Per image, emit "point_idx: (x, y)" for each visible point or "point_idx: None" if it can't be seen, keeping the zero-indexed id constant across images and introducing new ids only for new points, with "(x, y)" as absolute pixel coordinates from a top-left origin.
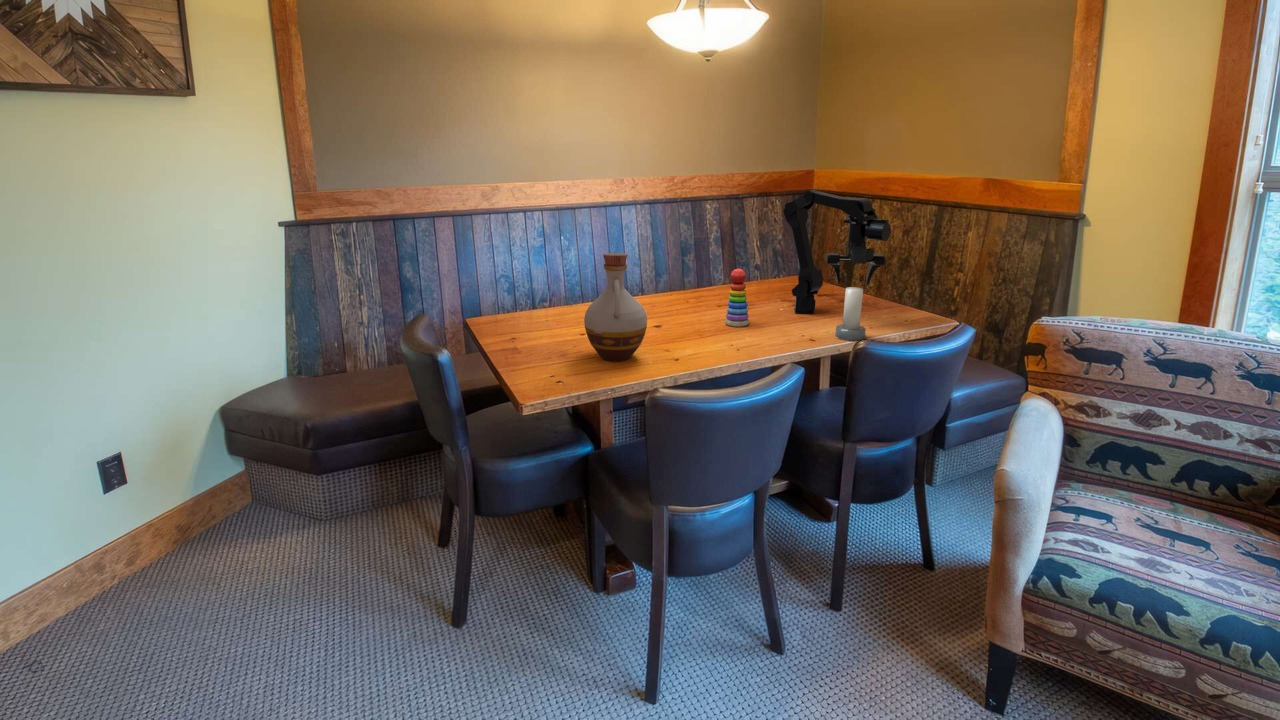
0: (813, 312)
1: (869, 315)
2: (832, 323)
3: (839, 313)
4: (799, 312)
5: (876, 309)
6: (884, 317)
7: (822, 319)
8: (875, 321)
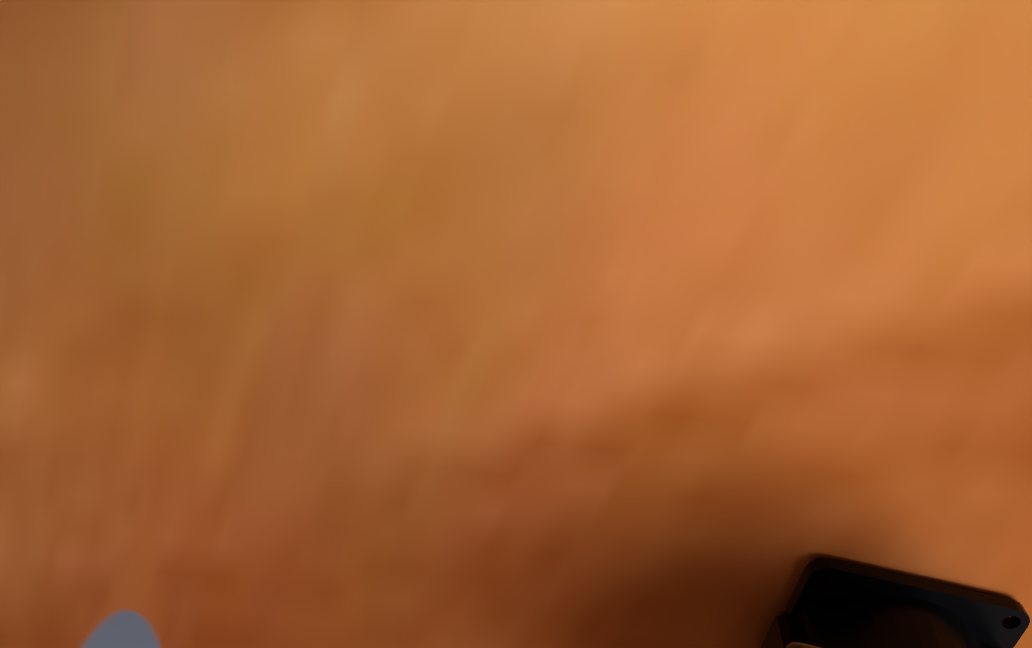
0: (814, 576)
1: (177, 439)
2: (779, 136)
3: (489, 548)
4: (986, 601)
5: (69, 619)
6: (23, 346)
7: (817, 345)
8: (155, 185)
